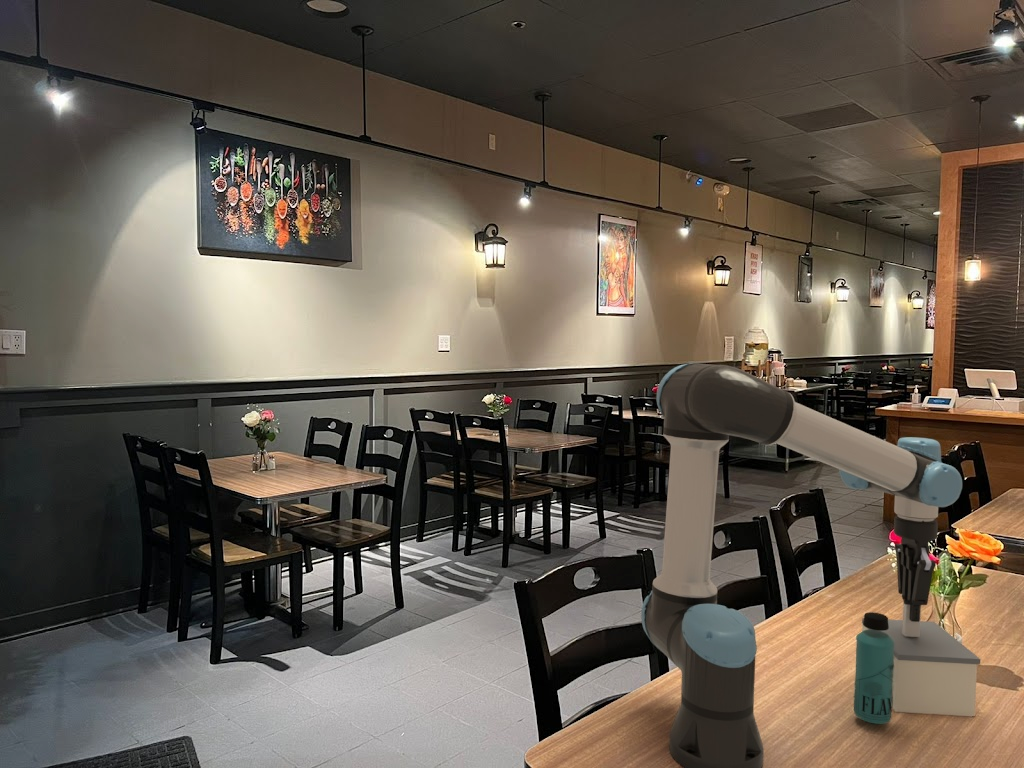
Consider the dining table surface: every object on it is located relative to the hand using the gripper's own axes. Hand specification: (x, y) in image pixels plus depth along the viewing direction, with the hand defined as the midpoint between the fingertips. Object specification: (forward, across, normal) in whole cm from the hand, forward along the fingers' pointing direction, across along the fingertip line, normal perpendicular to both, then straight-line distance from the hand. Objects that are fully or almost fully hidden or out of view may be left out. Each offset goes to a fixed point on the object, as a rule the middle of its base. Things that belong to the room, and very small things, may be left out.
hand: (910, 635), depth 147 cm
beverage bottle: (+12, -14, +12) cm, 22 cm away
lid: (+1, 0, -1) cm, 2 cm away
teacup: (+12, +17, -13) cm, 24 cm away
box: (+11, 0, -1) cm, 11 cm away
